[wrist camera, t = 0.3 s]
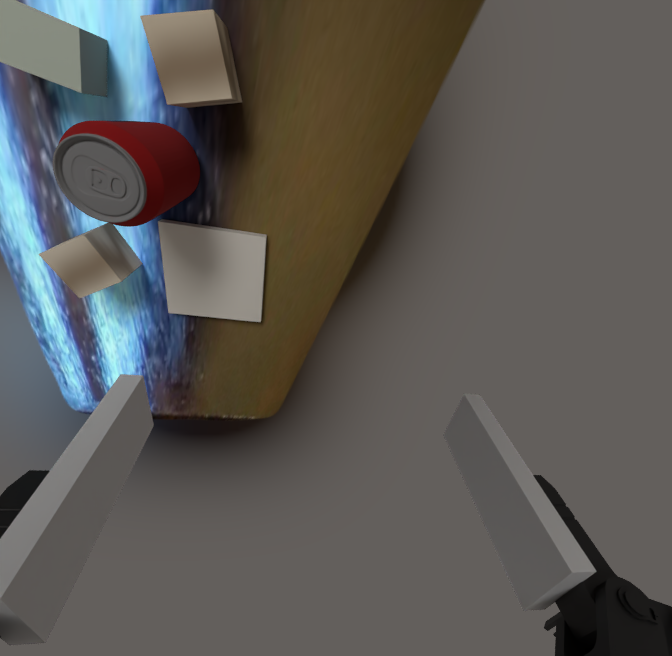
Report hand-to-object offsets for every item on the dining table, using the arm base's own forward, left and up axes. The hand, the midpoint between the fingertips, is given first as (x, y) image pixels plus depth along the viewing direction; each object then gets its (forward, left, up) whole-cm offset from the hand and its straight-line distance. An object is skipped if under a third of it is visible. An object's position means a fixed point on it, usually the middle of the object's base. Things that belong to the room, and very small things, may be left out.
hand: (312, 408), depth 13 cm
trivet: (+6, -10, -26) cm, 29 cm away
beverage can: (-5, -14, -27) cm, 31 cm away
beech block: (-13, -10, -26) cm, 31 cm away
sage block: (-12, -21, -27) cm, 36 cm away
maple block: (+5, -21, -26) cm, 34 cm away
